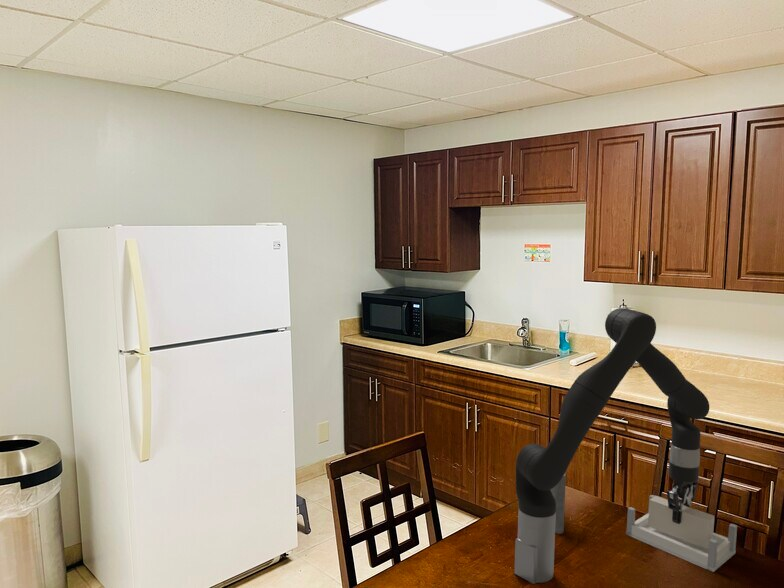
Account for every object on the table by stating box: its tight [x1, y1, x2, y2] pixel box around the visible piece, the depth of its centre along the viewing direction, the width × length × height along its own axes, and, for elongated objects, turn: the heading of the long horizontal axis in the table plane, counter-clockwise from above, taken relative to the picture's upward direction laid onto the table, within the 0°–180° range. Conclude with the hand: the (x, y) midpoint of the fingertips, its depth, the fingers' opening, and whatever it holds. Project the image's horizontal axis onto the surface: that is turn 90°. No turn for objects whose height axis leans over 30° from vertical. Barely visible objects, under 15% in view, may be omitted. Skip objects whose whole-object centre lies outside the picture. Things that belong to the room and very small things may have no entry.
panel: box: [648, 495, 715, 549], centre depth 166 cm, size 4×16×8 cm, turn 42°
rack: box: [625, 494, 738, 573], centre depth 166 cm, size 14×24×8 cm, turn 39°
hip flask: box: [550, 473, 567, 535], centre depth 178 cm, size 16×4×20 cm, turn 1°
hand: (680, 519), depth 166 cm, fingers closed on panel, 4 cm apart
